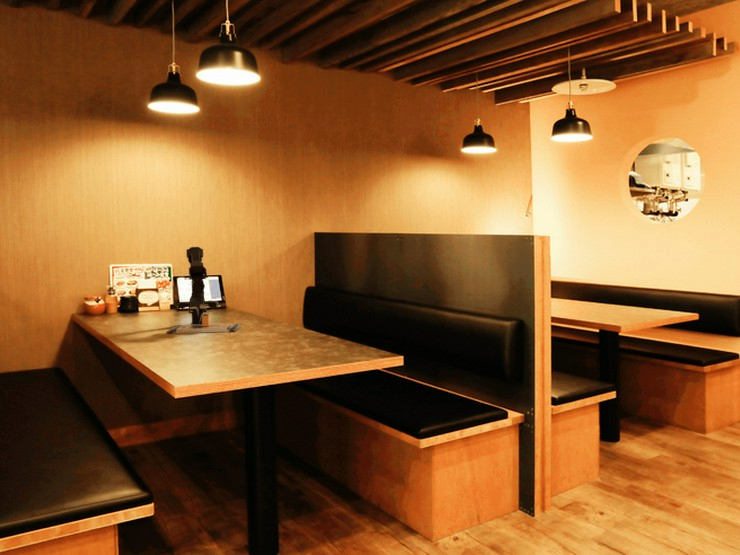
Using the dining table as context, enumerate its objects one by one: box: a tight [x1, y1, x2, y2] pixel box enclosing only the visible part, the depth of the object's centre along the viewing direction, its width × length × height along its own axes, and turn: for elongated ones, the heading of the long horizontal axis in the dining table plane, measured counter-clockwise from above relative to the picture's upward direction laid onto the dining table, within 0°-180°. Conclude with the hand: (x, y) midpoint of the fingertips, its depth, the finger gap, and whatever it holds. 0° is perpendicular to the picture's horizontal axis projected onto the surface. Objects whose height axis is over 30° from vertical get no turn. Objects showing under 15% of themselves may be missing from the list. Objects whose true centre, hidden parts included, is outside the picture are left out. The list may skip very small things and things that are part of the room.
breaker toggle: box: [202, 313, 211, 326], centre depth 308 cm, size 4×3×6 cm
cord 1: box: [165, 324, 182, 335], centre depth 308 cm, size 18×3×2 cm, turn 2°
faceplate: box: [175, 322, 234, 334], centre depth 308 cm, size 15×24×2 cm, turn 92°
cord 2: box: [228, 323, 242, 333], centre depth 309 cm, size 18×3×2 cm, turn 2°
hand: (199, 322), depth 308 cm, fingers closed
